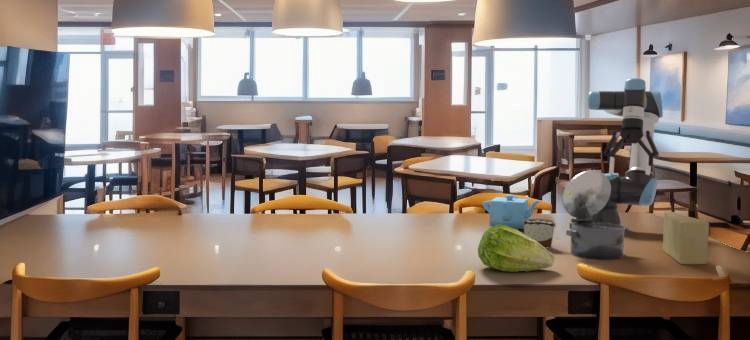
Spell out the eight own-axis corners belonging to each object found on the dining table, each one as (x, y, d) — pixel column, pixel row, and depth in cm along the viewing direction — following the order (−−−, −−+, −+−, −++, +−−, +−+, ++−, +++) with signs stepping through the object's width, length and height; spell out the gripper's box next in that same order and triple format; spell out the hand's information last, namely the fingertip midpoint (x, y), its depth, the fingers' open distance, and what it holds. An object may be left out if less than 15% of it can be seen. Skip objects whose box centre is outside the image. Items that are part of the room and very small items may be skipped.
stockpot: (551, 249, 259) (552, 222, 258) (606, 245, 266) (607, 219, 264) (582, 261, 240) (583, 232, 239) (640, 257, 246) (641, 229, 245)
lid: (559, 224, 257) (554, 219, 261) (605, 222, 263) (599, 217, 266) (570, 173, 249) (565, 168, 253) (617, 171, 255) (611, 167, 258)
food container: (556, 245, 266) (557, 219, 265) (555, 248, 261) (556, 221, 260) (523, 242, 270) (524, 217, 269) (521, 246, 265) (522, 219, 264)
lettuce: (540, 278, 236) (545, 297, 221) (472, 251, 237) (473, 269, 222) (558, 239, 232) (565, 256, 217) (489, 213, 233) (491, 227, 218)
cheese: (651, 250, 258) (653, 210, 257) (677, 250, 258) (679, 210, 257) (679, 265, 236) (681, 220, 235) (707, 264, 236) (710, 220, 235)
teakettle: (478, 227, 304) (479, 193, 302) (515, 224, 311) (516, 191, 309) (503, 235, 286) (504, 199, 285) (541, 231, 294) (542, 196, 292)
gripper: (597, 118, 272) (593, 172, 270) (663, 115, 257) (660, 173, 254) (604, 122, 278) (600, 175, 276) (669, 120, 263) (666, 176, 260)
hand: (629, 174), depth 265 cm, fingers open, 13 cm apart
